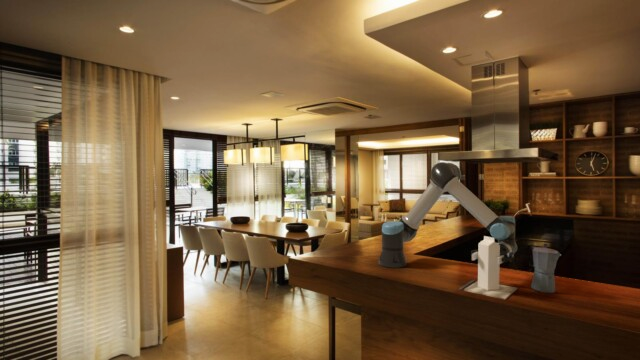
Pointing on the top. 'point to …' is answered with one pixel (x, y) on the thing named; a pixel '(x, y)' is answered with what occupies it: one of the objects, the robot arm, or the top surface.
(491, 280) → the milk
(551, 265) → the moka pot
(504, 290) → the mat
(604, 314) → the top surface
